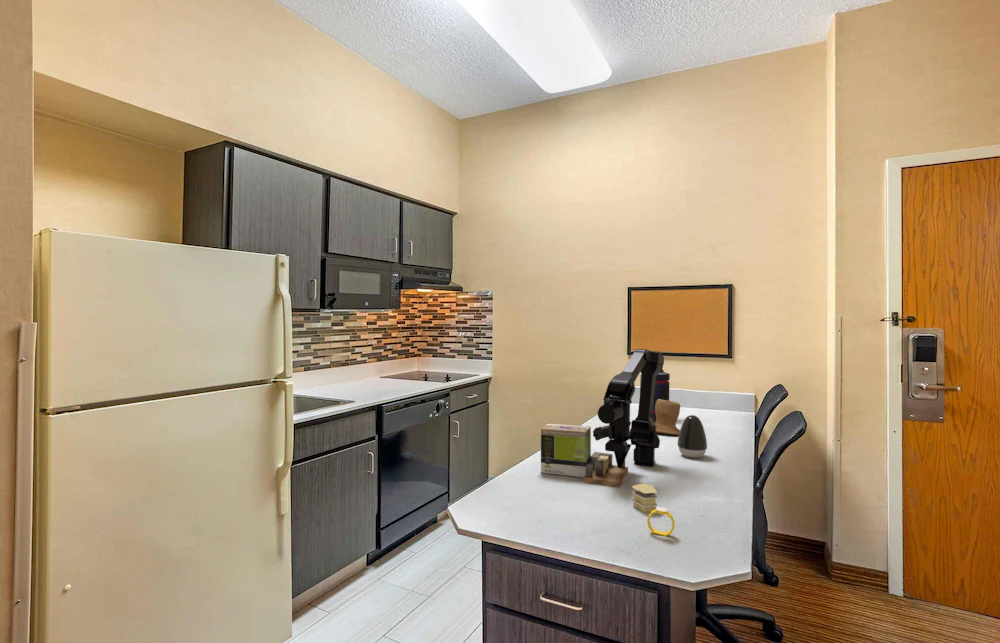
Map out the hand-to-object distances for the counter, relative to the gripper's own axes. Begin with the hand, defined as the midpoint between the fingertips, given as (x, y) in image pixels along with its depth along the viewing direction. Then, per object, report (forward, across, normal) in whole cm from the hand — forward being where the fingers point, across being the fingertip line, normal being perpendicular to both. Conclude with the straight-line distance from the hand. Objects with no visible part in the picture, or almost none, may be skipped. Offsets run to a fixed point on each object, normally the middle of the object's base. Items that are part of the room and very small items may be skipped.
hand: (619, 467), depth 159 cm
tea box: (+3, +1, -17) cm, 18 cm away
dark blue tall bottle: (+3, -96, +1) cm, 96 cm away
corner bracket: (+2, -3, -6) cm, 7 cm away
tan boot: (+3, -72, +7) cm, 72 cm away
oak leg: (+1, +1, -6) cm, 6 cm away
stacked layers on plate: (+4, +23, +10) cm, 25 cm away
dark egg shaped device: (+3, -37, +20) cm, 42 cm away
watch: (+3, +38, +16) cm, 42 cm away
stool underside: (+3, +1, -4) cm, 5 cm away
